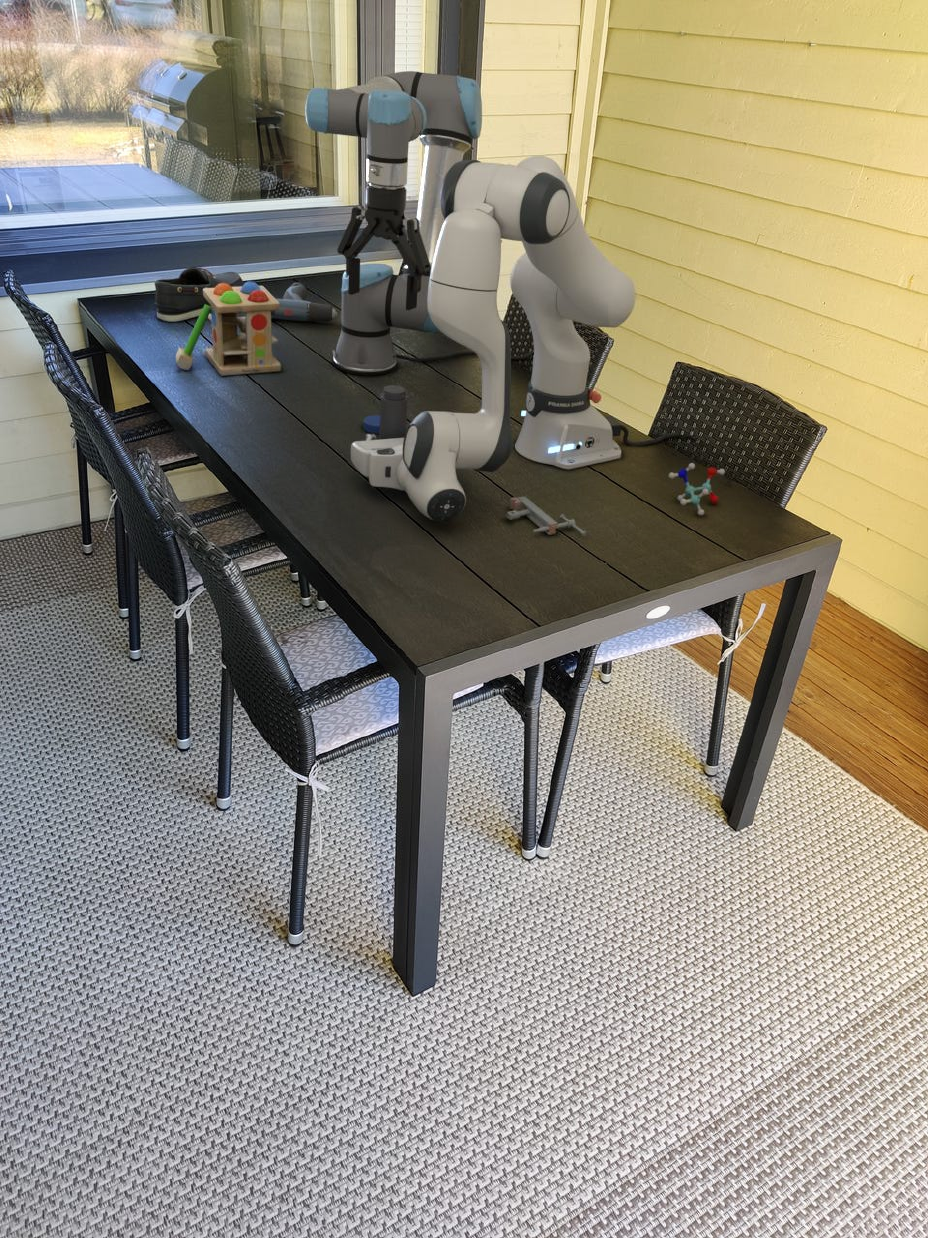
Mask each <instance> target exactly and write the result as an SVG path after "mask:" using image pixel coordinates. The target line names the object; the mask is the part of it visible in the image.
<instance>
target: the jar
mask: <svg viewBox="0 0 928 1238" xmlns="http://www.w3.org/2000/svg"><path fill="white" fill-rule="evenodd" d="M382 392H383V393H381V395H380V405H379V406H380V407H379V410H380V411H379V416H380V432H379V434H378V435H379V437H378V440H381V439H393V438H404V437H405V433H406V430H407V423H408V422H407V421H408V420H407V419H408V400H409V397H408V395H407V389H406V388H405V387H403V386H401V385H397V384H396V385H395V384H391V385H386V386H384V387H383V390H382Z"/></svg>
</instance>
